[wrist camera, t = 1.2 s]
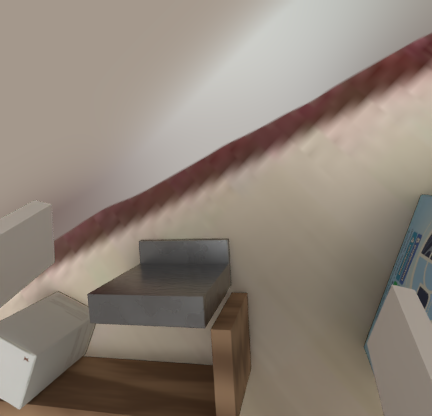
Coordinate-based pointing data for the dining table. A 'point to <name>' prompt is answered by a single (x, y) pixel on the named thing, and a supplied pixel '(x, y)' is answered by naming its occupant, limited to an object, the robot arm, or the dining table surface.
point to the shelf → (155, 380)
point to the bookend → (167, 285)
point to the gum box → (414, 261)
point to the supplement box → (41, 346)
